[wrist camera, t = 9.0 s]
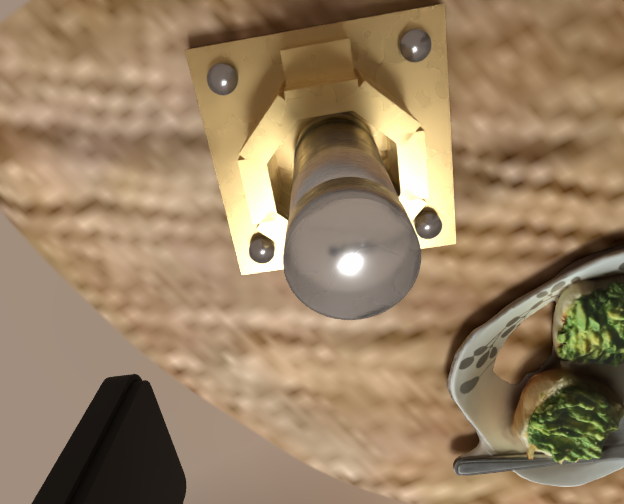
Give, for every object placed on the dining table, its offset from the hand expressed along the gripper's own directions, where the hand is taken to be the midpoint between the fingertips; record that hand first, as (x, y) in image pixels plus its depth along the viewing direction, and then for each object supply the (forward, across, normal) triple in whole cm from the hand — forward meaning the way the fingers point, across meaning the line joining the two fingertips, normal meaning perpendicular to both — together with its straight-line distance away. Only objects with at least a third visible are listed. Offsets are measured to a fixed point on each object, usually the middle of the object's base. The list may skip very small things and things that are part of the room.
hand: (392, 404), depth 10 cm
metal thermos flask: (+18, +1, 0) cm, 18 cm away
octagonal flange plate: (+19, +1, 0) cm, 19 cm away
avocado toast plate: (+20, -14, +17) cm, 30 cm away
